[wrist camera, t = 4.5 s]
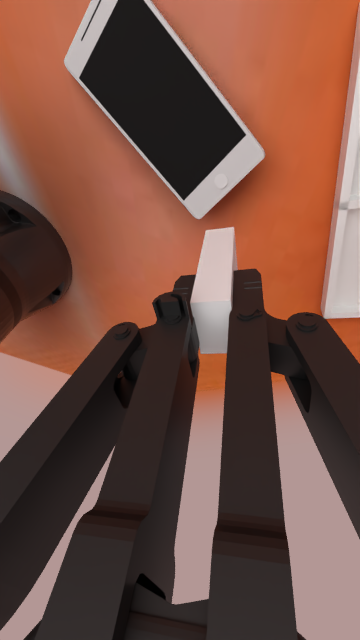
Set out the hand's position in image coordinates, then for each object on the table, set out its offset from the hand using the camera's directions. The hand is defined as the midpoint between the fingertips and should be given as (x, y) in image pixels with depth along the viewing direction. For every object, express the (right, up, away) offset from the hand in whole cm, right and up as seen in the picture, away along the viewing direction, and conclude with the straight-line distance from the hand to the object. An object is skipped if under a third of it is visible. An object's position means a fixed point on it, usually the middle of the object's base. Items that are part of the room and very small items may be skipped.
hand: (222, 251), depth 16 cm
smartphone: (+2, +8, +9) cm, 12 cm away
